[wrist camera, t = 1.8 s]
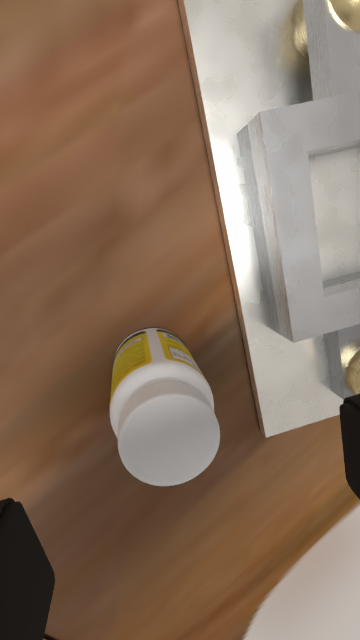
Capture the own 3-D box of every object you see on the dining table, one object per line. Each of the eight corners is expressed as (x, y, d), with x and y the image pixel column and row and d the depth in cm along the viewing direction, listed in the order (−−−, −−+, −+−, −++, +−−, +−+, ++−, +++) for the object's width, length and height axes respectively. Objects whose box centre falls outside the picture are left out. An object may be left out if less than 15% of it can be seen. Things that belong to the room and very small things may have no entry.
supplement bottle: (115, 400, 21) (108, 503, 13) (111, 328, 19) (100, 390, 11) (189, 394, 21) (228, 487, 13) (189, 324, 20) (232, 380, 12)
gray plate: (436, 374, 24) (498, 400, 20) (259, 429, 23) (288, 469, 19) (427, -63, 17) (519, -156, 13) (173, -21, 16) (189, -110, 12)
